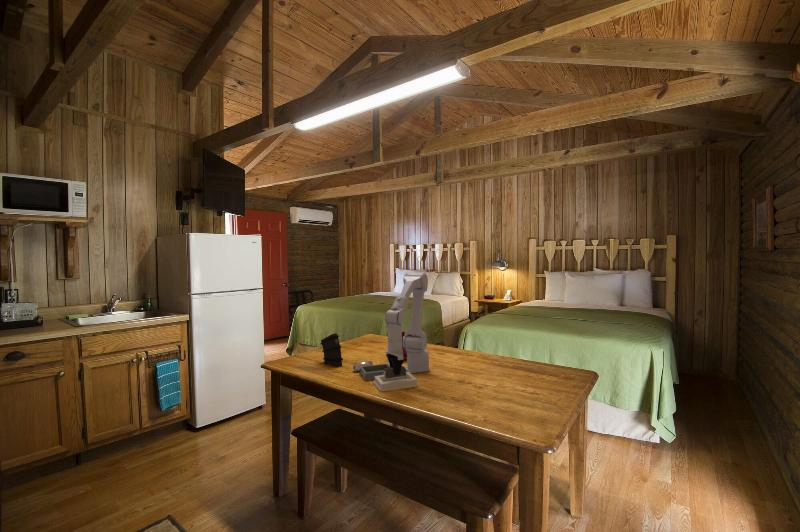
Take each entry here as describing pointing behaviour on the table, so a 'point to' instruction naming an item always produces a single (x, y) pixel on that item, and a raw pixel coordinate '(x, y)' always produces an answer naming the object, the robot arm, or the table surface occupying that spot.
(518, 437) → the table surface
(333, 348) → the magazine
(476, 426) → the table surface
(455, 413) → the table surface
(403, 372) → the cylinder
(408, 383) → the trough board
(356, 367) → the silver cell
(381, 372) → the bin
